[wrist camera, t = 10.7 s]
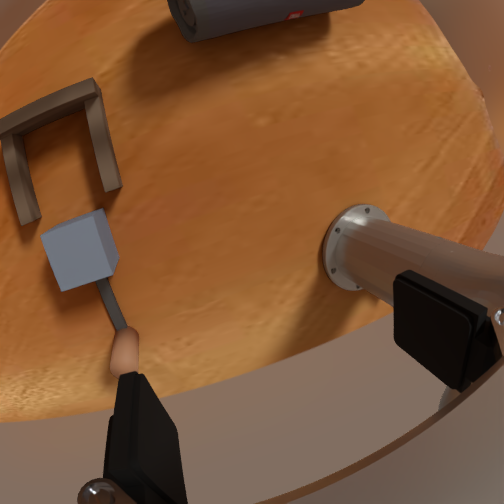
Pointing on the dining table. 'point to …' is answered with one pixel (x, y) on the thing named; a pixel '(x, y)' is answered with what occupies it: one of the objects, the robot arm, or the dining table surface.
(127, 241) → the dining table surface
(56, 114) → the dark u-shaped frame
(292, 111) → the dining table surface
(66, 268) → the block
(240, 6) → the bluetooth speaker
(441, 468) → the robot arm
